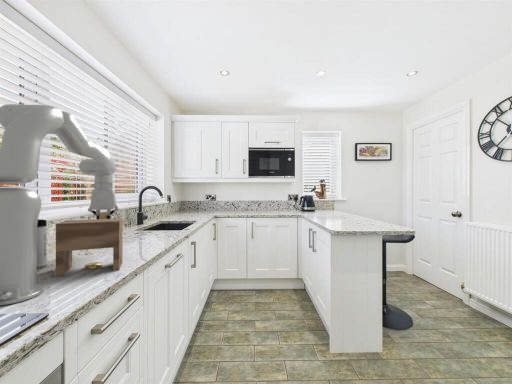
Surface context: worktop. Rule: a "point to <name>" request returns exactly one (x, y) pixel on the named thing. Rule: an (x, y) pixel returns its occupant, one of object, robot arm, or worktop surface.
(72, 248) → the wooden step stool
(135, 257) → the worktop surface
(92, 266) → the puck
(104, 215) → the scraper
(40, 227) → the travel mug
